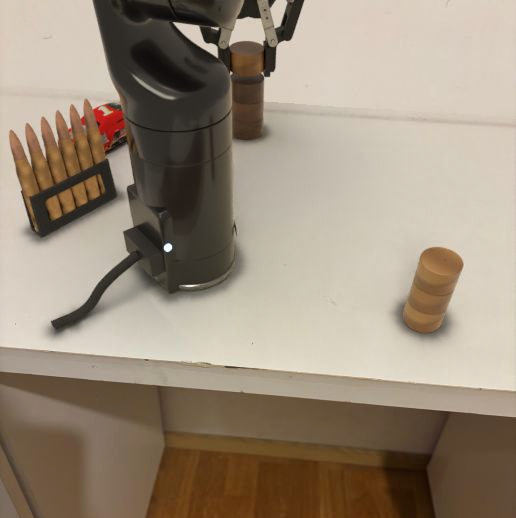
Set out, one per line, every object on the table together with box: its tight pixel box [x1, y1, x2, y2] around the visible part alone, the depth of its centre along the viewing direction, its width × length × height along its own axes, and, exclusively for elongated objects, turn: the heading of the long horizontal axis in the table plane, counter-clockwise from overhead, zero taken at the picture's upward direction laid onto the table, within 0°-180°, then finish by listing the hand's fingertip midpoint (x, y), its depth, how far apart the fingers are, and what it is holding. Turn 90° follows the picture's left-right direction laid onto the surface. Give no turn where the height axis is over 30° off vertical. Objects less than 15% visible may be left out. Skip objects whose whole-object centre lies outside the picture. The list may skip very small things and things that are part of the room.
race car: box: [57, 101, 127, 152], centre depth 75 cm, size 13×5×4 cm, turn 140°
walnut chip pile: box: [230, 72, 265, 141], centre depth 76 cm, size 4×4×8 cm
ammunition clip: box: [8, 97, 118, 238], centre depth 62 cm, size 11×2×12 cm, turn 138°
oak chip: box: [229, 40, 265, 76], centre depth 72 cm, size 4×4×2 cm
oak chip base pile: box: [402, 246, 464, 334], centre depth 54 cm, size 4×4×8 cm
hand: (246, 74), depth 73 cm, fingers closed on oak chip, 4 cm apart
